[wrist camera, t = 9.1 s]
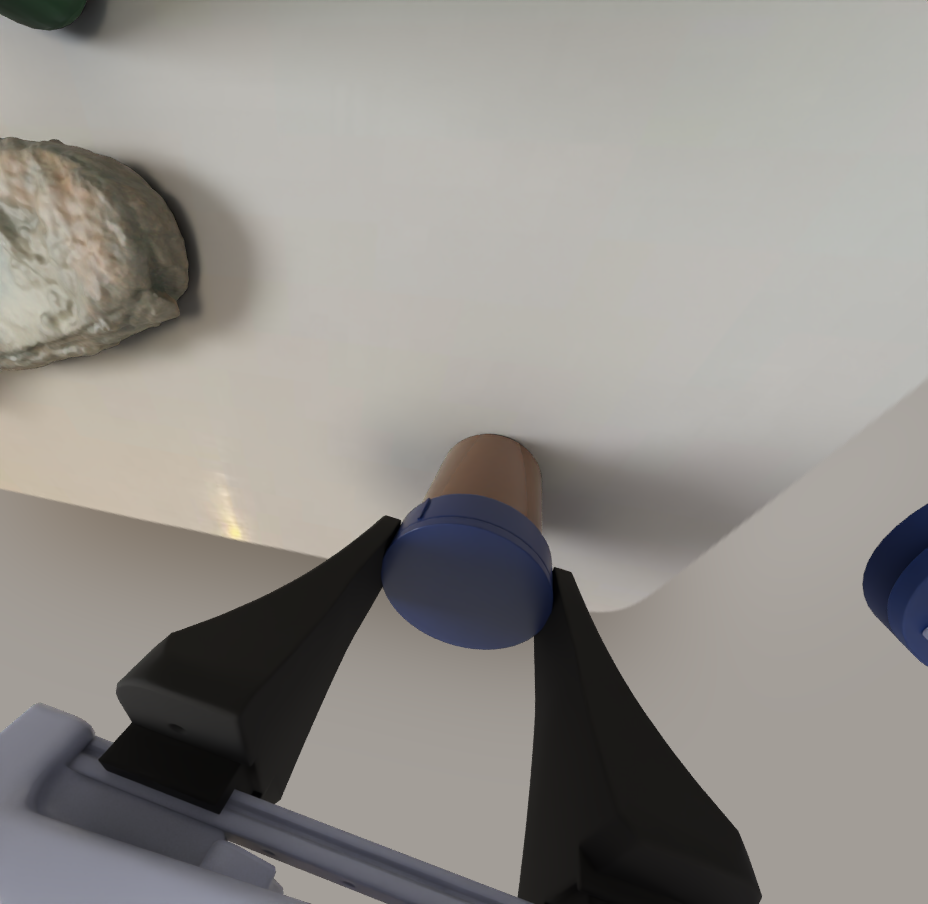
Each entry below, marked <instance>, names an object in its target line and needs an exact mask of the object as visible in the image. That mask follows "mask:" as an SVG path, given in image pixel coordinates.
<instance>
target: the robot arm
mask: <svg viewBox="0 0 928 904" xmlns="http://www.w3.org/2000/svg"><path fill="white" fill-rule="evenodd" d="M400 525H401V520H399V519H396V518H393V517H390V516H383V517H382V518H381V519H380V520H379V521H377V522H376V523H375V524H374V525H373V526H372V527H370V528H369V529H368V530H367V531H366V532H364V533H363V534H362V535H361V536H359V537H358V538H357V539H356V540H354V541H353V542H352V543H350V544H349V545H348V546H346V547H345V548H344V549H342V550H341V551H339V552H338V553H337V554H335V555H334V556H332V557H331V558H329V559H328V560H326V561H325V562H323V563H322V564H320V565H319V566H317V567H316V568H314V569H312V570H311V571H309V572H308V573H306V574H304V575H302V576H301V577H299V578H297V579H296V580H294V581H292V582H290V583H288V584H287V585H284V586H283V587H281V588H279V589H277V590H275V591H273V592H271V593H269V594H267V595H265V596H263V597H261V598H259V599H257V600H255V601H252V602H250V603H247V604H245V605H243V606H241V607H238V608H236V609H234V610H232V611H229V612H227V613H225V614H222V615H220V616H217V617H215V618H212V619H210V620H207V621H204V622H201V623H198V624H196V625H193V626H190V627H187V628H185V629H182V630H179V631H176V632H173V633H171V634H170V635H169V636H168V637H167V638H165V639H164V640H163V641H162V642H161V643H159V644H158V645H157V646H156V647H155V648H154V649H152V650H151V652H149V653H148V654H147V655H146V656H145V657H144V658H143V659H142V660H141V661H140V662H139V663H138V664H137V665H136V666H135V667H134V668H133V669H132V670H131V671H130V672H129V673H128V674H127V675H126V676H125V677H124V678H122V680H120V681H119V682H118V684H117V689H116V694H117V697H118V699H119V701H120V703H121V704H122V706H123V708H124V710H125V711H126V713H127V714H128V716H129V718H130V719H131V721H132V723H131V724H130V726H128V728H127V729H126V730H125V731H124V732H123V733H122V734H121V735H120V736H119V737H118V739H117V740H116V741H115V742H114V743H113V742H110V741H108V740H105V739H103V738H100V737H97V736H95V732H94V730H93V728H92V727H91V726H90V725H89V724H88V723H87V722H86V721H84V720H83V719H81V718H79V717H77V716H75V715H72V714H69V713H67V712H64V711H61V710H59V709H56V708H54V707H51V706H48V705H46V704H43V703H37V704H34V705H33V706H31V707H30V708H29V709H28V710H27V711H25V712H24V713H23V714H22V715H21V716H20V717H18V718H17V719H16V720H15V721H14V722H12V723H11V724H10V725H9V726H8V727H7V728H5V729H4V730H3V731H2V732H1V733H0V904H310V903H307V902H304V901H301V900H298V899H295V898H292V897H289V896H286V895H283V888H282V886H281V885H280V884H279V883H278V882H277V881H276V880H275V879H274V876H275V873H276V871H275V867H274V866H273V865H271V864H270V863H268V862H266V861H264V860H263V859H261V858H259V857H257V856H255V855H253V854H252V853H250V852H248V851H246V850H245V849H243V848H241V847H239V846H237V845H235V844H233V843H236V844H238V845H241V846H243V847H246V848H248V849H251V850H253V851H256V852H258V853H261V854H263V855H266V856H268V857H271V858H274V859H276V860H279V861H281V862H284V863H286V864H289V865H291V866H294V867H296V868H299V869H301V870H304V871H307V872H309V873H312V874H314V875H316V876H319V877H321V878H324V879H326V880H329V881H331V882H334V883H336V884H339V885H341V886H344V887H347V888H349V889H352V890H354V891H357V892H359V893H362V894H364V895H367V896H369V897H372V898H374V899H377V900H380V901H382V902H384V903H387V904H759V902H760V900H761V898H762V895H761V892H760V889H759V886H758V883H757V880H756V877H755V874H754V871H753V868H752V865H751V862H750V859H749V856H748V854H747V851H746V849H745V846H744V844H743V841H742V839H741V836H740V834H739V832H738V830H737V829H736V828H735V827H734V825H733V824H732V823H731V822H730V821H729V820H728V818H727V817H726V816H725V815H724V814H723V813H722V811H721V810H720V809H719V808H718V807H717V805H716V804H715V803H714V802H713V801H712V800H711V798H710V797H709V796H708V795H707V794H706V792H705V791H704V790H703V789H702V788H701V787H700V785H699V784H698V783H697V782H696V780H695V779H694V778H693V777H692V776H691V774H690V773H689V772H688V770H687V769H686V768H685V767H684V765H683V764H682V763H681V761H680V760H679V759H678V758H677V756H676V755H675V754H674V752H673V751H672V750H671V748H670V747H669V746H668V744H667V743H666V742H665V740H664V739H663V737H662V736H661V735H660V733H659V732H658V731H657V729H656V728H655V726H654V725H653V723H652V722H651V720H650V719H649V718H648V716H647V715H646V713H645V712H644V711H643V709H642V707H641V706H640V705H639V703H638V701H637V700H636V698H635V697H634V695H633V694H632V692H631V691H630V689H629V687H628V686H627V684H626V682H625V681H624V679H623V677H622V676H621V674H620V672H619V671H618V669H617V667H616V665H615V663H614V662H613V660H612V658H611V656H610V654H609V652H608V651H607V649H606V647H605V645H604V643H603V641H602V639H601V637H600V635H599V633H598V631H597V629H596V627H595V625H594V622H593V620H592V618H591V616H590V614H589V612H588V610H587V607H586V605H585V603H584V600H583V598H582V596H581V594H580V591H579V589H578V586H577V584H576V582H575V579H574V577H573V575H572V573H571V572H569V571H566V570H563V569H559V568H556V567H554V569H553V571H552V575H553V608H552V612H551V614H550V616H549V618H548V620H547V621H546V623H545V625H544V627H543V628H542V630H541V631H539V632H538V633H537V634H536V635H535V636H534V659H535V660H534V663H535V725H534V740H533V754H532V766H531V779H530V790H529V801H528V811H527V822H526V831H525V840H524V849H523V858H522V866H521V875H520V883H519V891H518V898H517V897H515V896H512V895H510V894H507V893H504V892H502V891H499V890H496V889H494V888H491V887H489V886H486V885H484V884H481V883H478V882H475V881H473V880H470V879H468V878H465V877H462V876H460V875H457V874H455V873H452V872H450V871H447V870H444V869H442V868H439V867H437V866H434V865H431V864H429V863H426V862H423V861H421V860H418V859H416V858H413V857H410V856H408V855H405V854H403V853H400V852H397V851H395V850H392V849H390V848H387V847H384V846H382V845H379V844H377V843H374V842H371V841H368V840H366V839H363V838H361V837H358V836H355V835H353V834H350V833H348V832H345V831H343V830H340V829H337V828H335V827H332V826H330V825H327V824H324V823H322V822H319V821H317V820H314V819H311V818H309V817H306V816H304V815H301V814H298V813H295V812H293V811H291V810H287V809H285V808H282V807H280V806H277V805H275V803H277V802H278V801H279V800H281V797H282V795H283V792H284V790H285V788H286V785H287V783H288V781H289V778H290V776H291V773H292V771H293V769H294V766H295V764H296V762H297V759H298V757H299V755H300V752H301V750H302V747H303V745H304V743H305V740H306V738H307V736H308V734H309V732H310V729H311V727H312V725H313V722H314V720H315V718H316V716H317V713H318V711H319V709H320V707H321V704H322V702H323V700H324V698H325V695H326V693H327V691H328V689H329V686H330V685H331V682H332V680H333V678H334V676H335V674H336V672H337V669H338V667H339V665H340V663H341V661H342V659H343V657H344V654H345V652H346V650H347V648H348V646H349V645H350V643H351V641H352V639H353V637H354V635H355V634H356V632H357V630H358V628H359V627H360V625H361V623H362V621H363V620H364V618H365V616H366V615H367V613H368V611H369V610H370V608H371V606H372V604H373V603H374V601H375V599H376V597H377V596H378V594H379V592H380V590H381V589H382V587H383V585H382V581H381V570H382V562H383V557H384V554H385V552H386V550H387V549H388V547H389V545H390V543H391V541H392V540H393V538H394V536H395V534H396V532H397V531H398V529H399V527H400ZM923 636H924V637H925V638H926V639H927V640H928V627H927V628H925V629H924V630H923ZM228 841H230V842H228ZM231 842H233V843H231Z"/></svg>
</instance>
